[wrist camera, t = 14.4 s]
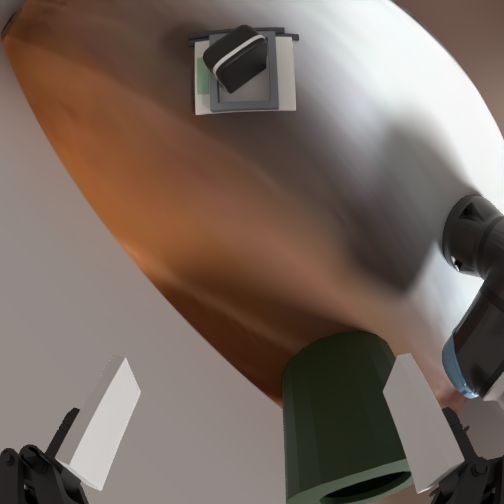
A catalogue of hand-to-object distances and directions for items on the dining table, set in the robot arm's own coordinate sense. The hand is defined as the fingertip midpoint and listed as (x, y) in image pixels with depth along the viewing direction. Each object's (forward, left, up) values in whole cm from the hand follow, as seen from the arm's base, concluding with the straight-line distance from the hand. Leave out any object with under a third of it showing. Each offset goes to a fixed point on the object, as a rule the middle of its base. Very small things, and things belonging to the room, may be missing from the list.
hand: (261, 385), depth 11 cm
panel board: (+2, -22, -31) cm, 38 cm away
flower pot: (-16, +34, -31) cm, 49 cm away
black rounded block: (+2, -22, -30) cm, 37 cm away
